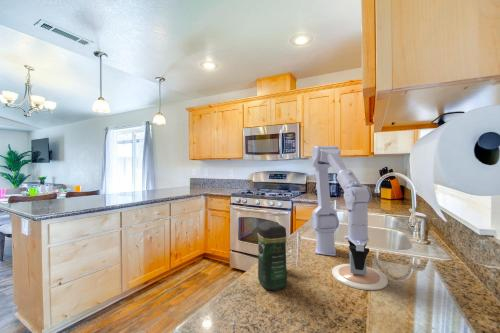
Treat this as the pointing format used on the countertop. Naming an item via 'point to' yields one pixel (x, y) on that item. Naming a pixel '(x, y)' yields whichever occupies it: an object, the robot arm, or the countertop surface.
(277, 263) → the coffee jar
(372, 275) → the plate
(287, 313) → the countertop surface
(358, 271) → the block
